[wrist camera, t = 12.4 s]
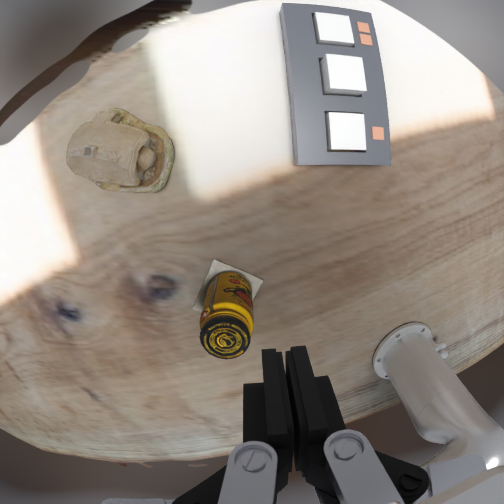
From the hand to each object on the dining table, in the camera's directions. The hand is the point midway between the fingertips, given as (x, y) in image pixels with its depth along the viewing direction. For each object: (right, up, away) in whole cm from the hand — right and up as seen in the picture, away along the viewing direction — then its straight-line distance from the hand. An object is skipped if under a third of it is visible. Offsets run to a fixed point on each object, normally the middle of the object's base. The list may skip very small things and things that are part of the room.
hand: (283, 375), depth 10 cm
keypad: (+9, +26, +20) cm, 34 cm away
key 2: (+9, +26, +18) cm, 33 cm away
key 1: (+9, +33, +17) cm, 38 cm away
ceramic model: (-18, +18, +23) cm, 34 cm away
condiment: (-5, -1, +29) cm, 30 cm away
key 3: (+10, +20, +22) cm, 31 cm away
